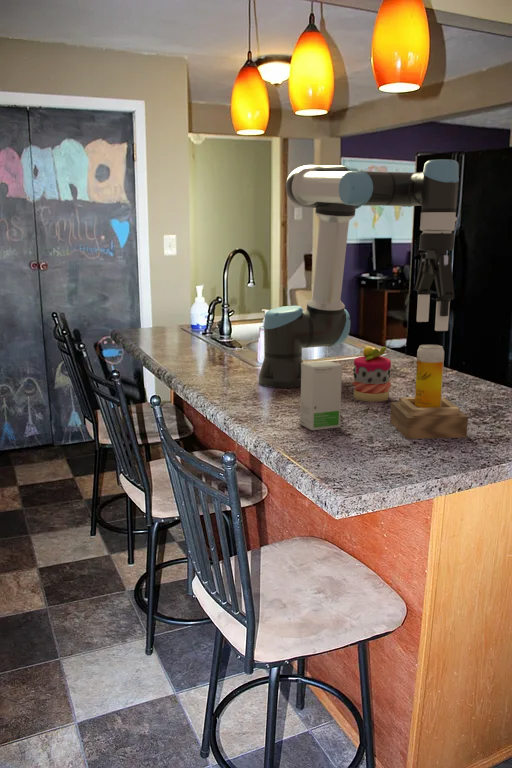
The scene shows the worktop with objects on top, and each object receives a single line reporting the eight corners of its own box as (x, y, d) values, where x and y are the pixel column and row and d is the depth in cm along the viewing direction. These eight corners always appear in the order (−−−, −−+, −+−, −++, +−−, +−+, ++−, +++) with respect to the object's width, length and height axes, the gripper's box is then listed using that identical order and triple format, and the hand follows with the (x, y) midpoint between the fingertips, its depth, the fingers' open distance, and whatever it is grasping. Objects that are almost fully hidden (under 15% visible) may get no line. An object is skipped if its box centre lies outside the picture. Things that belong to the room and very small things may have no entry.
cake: (345, 397, 186) (346, 345, 183) (364, 390, 194) (366, 340, 191) (378, 404, 180) (380, 350, 176) (396, 396, 188) (399, 344, 184)
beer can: (412, 405, 159) (415, 344, 156) (437, 405, 159) (441, 344, 156) (417, 411, 153) (420, 348, 150) (443, 411, 153) (447, 348, 150)
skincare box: (311, 431, 156) (312, 367, 152) (298, 424, 162) (299, 362, 158) (341, 427, 159) (343, 364, 156) (328, 420, 165) (329, 359, 162)
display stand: (406, 439, 150) (408, 411, 149) (390, 421, 164) (391, 396, 162) (466, 437, 151) (468, 410, 150) (445, 420, 165) (446, 394, 163)
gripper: (475, 233, 136) (467, 334, 141) (435, 231, 160) (430, 318, 165) (439, 233, 136) (433, 335, 141) (405, 231, 160) (400, 318, 165)
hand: (431, 326), depth 153 cm, fingers open, 13 cm apart
